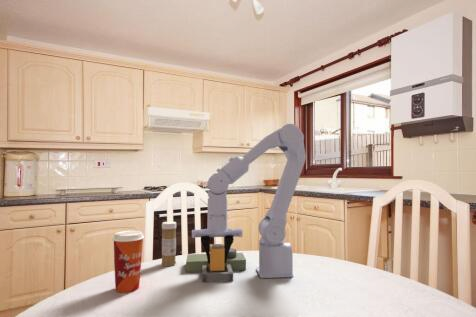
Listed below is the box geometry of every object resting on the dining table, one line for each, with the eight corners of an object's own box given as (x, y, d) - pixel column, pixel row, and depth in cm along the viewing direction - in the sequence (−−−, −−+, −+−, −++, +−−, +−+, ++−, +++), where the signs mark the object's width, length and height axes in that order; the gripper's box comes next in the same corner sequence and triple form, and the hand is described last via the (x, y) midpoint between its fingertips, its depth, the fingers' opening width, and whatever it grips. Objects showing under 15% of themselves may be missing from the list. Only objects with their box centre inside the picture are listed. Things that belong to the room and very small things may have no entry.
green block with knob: (242, 261, 97) (242, 246, 97) (250, 280, 80) (250, 261, 81) (187, 263, 95) (187, 248, 95) (184, 282, 78) (184, 263, 79)
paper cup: (119, 297, 69) (121, 237, 70) (105, 288, 74) (107, 233, 75) (149, 288, 75) (150, 232, 75) (134, 280, 80) (135, 228, 80)
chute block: (223, 264, 87) (223, 243, 88) (224, 270, 82) (224, 248, 82) (209, 264, 87) (209, 243, 87) (210, 270, 81) (210, 248, 82)
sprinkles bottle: (171, 261, 97) (172, 220, 98) (178, 264, 94) (178, 222, 94) (158, 264, 94) (159, 222, 95) (165, 267, 91) (165, 223, 92)
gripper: (191, 217, 80) (190, 267, 80) (243, 216, 82) (243, 265, 81) (192, 213, 87) (191, 259, 87) (240, 213, 89) (240, 258, 88)
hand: (216, 262), depth 84 cm, fingers closed on chute block, 4 cm apart
